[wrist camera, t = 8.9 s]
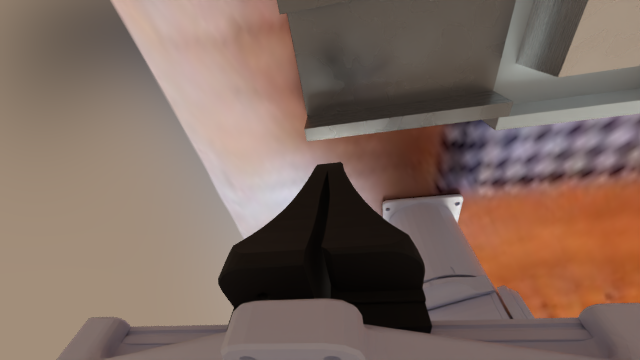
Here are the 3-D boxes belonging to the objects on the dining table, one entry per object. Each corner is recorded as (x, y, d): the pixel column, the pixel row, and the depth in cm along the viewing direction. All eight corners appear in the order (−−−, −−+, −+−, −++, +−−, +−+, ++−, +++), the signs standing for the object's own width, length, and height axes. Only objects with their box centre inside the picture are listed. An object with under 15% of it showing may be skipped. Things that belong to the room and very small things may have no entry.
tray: (663, 94, 18) (704, 105, 16) (479, 117, 20) (495, 130, 18) (832, -162, 11) (941, -199, 9) (528, -93, 13) (563, -111, 11)
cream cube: (579, 54, 16) (639, 66, 13) (515, 63, 17) (558, 77, 14) (610, -21, 14) (692, -29, 11) (535, -7, 15) (592, -10, 12)
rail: (483, 99, 19) (509, 116, 16) (310, 122, 21) (306, 141, 18) (519, -55, 14) (566, -71, 11) (285, -6, 16) (274, -8, 13)
